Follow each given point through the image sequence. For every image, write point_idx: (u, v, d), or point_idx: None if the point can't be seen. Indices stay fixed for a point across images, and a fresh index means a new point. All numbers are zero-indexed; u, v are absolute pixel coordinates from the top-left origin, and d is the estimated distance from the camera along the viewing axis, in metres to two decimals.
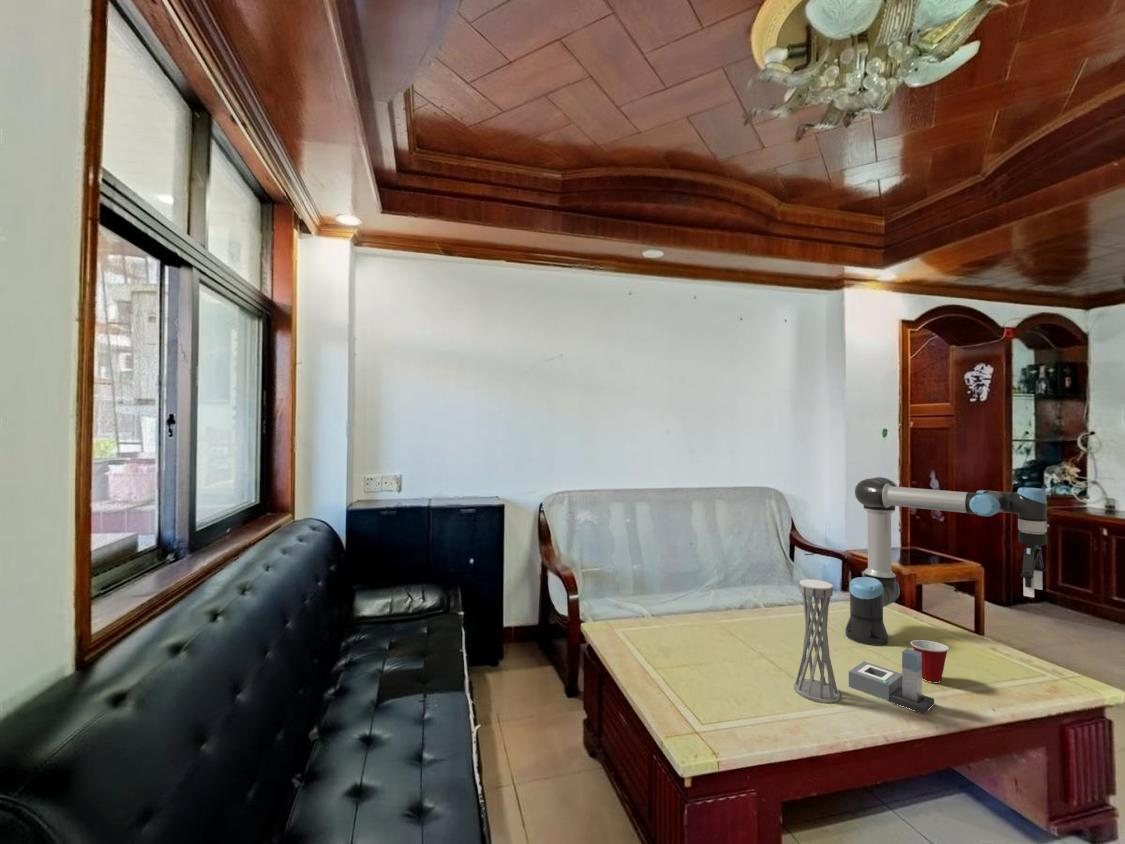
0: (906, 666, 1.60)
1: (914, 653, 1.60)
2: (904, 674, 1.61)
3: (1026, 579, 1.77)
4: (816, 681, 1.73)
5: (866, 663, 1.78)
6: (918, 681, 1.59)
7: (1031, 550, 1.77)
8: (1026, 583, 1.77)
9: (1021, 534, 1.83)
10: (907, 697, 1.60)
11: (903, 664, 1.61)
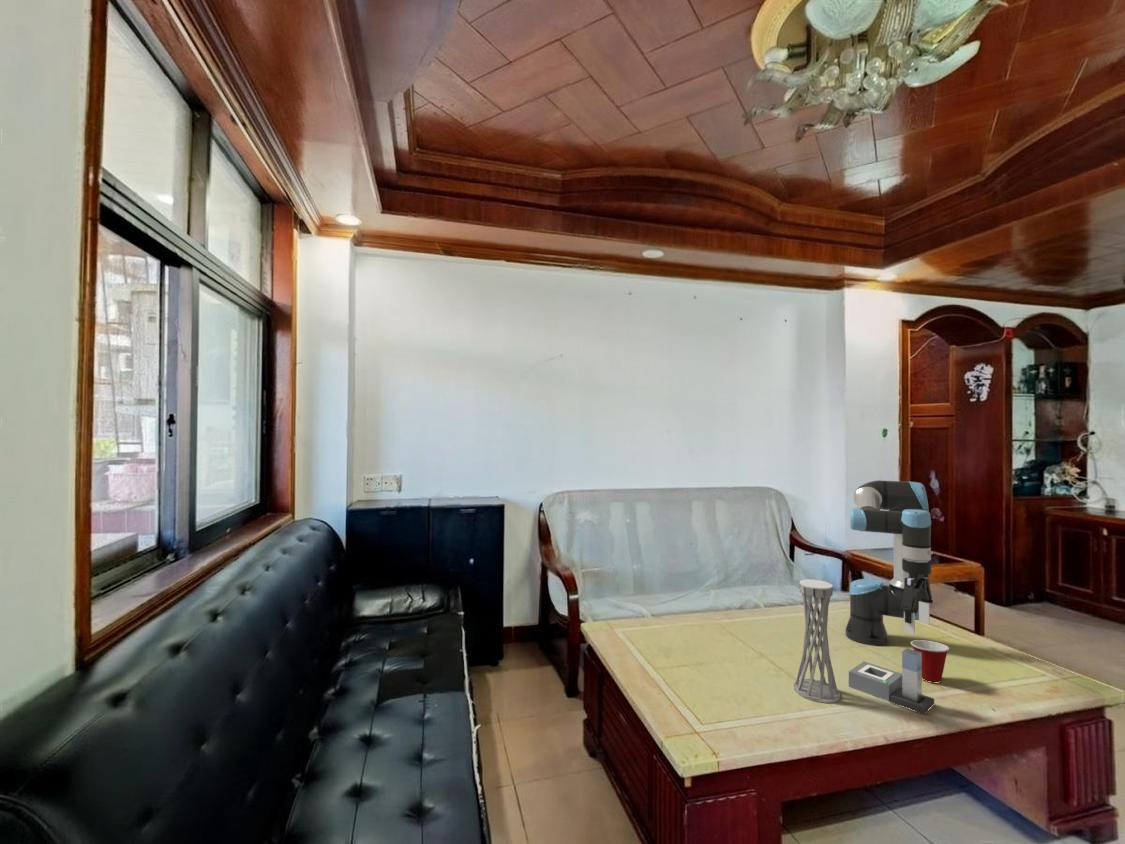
0: (906, 666, 1.60)
1: (914, 653, 1.60)
2: (904, 674, 1.61)
3: (906, 614, 1.57)
4: (816, 681, 1.73)
5: (866, 663, 1.78)
6: (918, 681, 1.59)
7: (912, 581, 1.57)
8: (906, 618, 1.57)
9: (904, 562, 1.62)
10: (907, 697, 1.60)
11: (903, 664, 1.61)
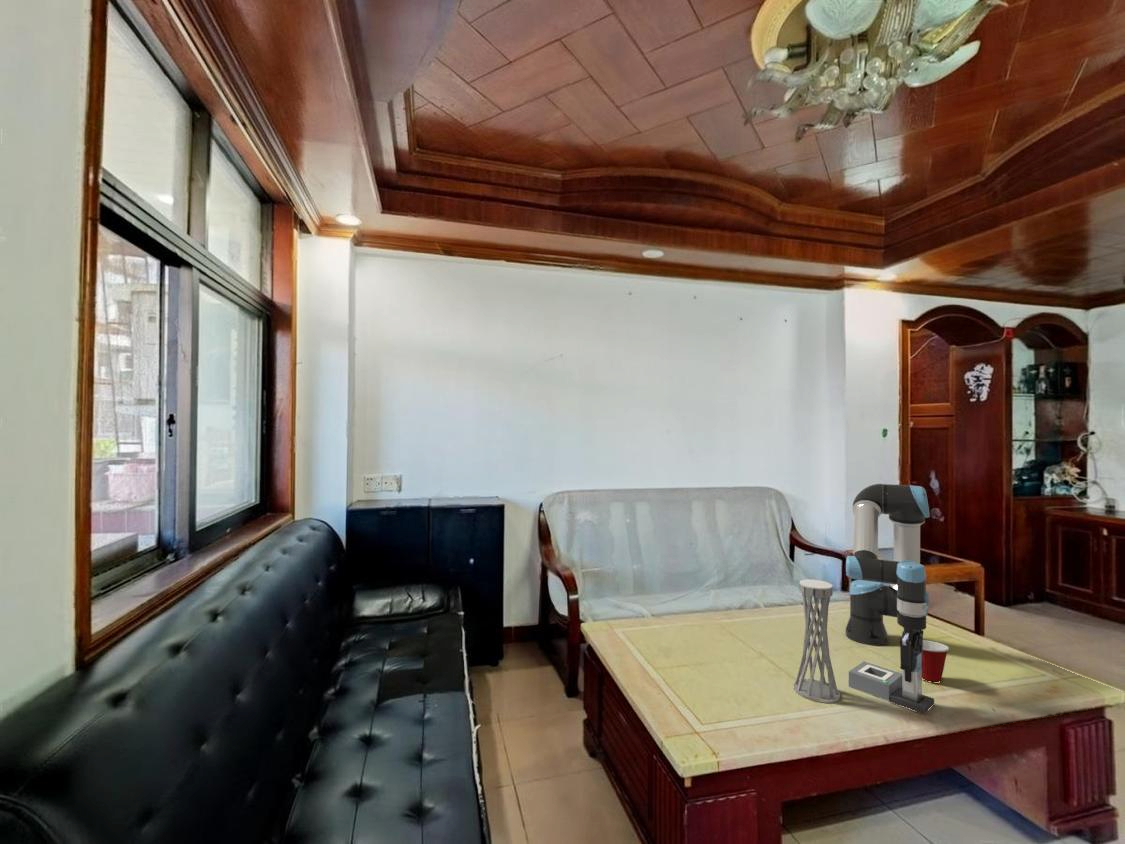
0: None
1: (914, 653, 1.60)
2: None
3: (906, 672, 1.59)
4: (816, 681, 1.73)
5: (866, 663, 1.78)
6: (918, 681, 1.59)
7: (906, 642, 1.56)
8: (906, 677, 1.59)
9: (899, 616, 1.62)
10: (907, 697, 1.60)
11: None
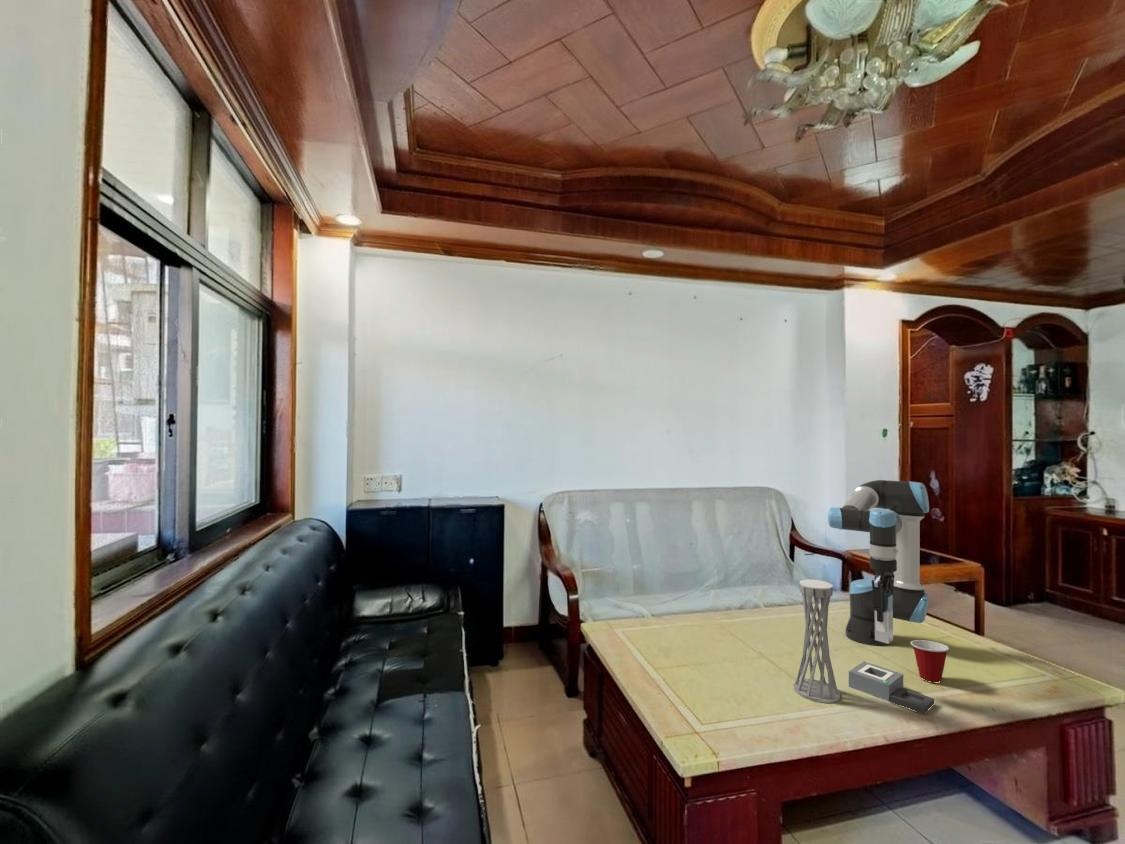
0: None
1: (886, 595, 1.68)
2: None
3: (878, 613, 1.67)
4: (816, 681, 1.73)
5: (866, 663, 1.78)
6: (889, 621, 1.67)
7: (878, 584, 1.64)
8: (878, 617, 1.67)
9: (871, 560, 1.69)
10: (879, 637, 1.68)
11: None
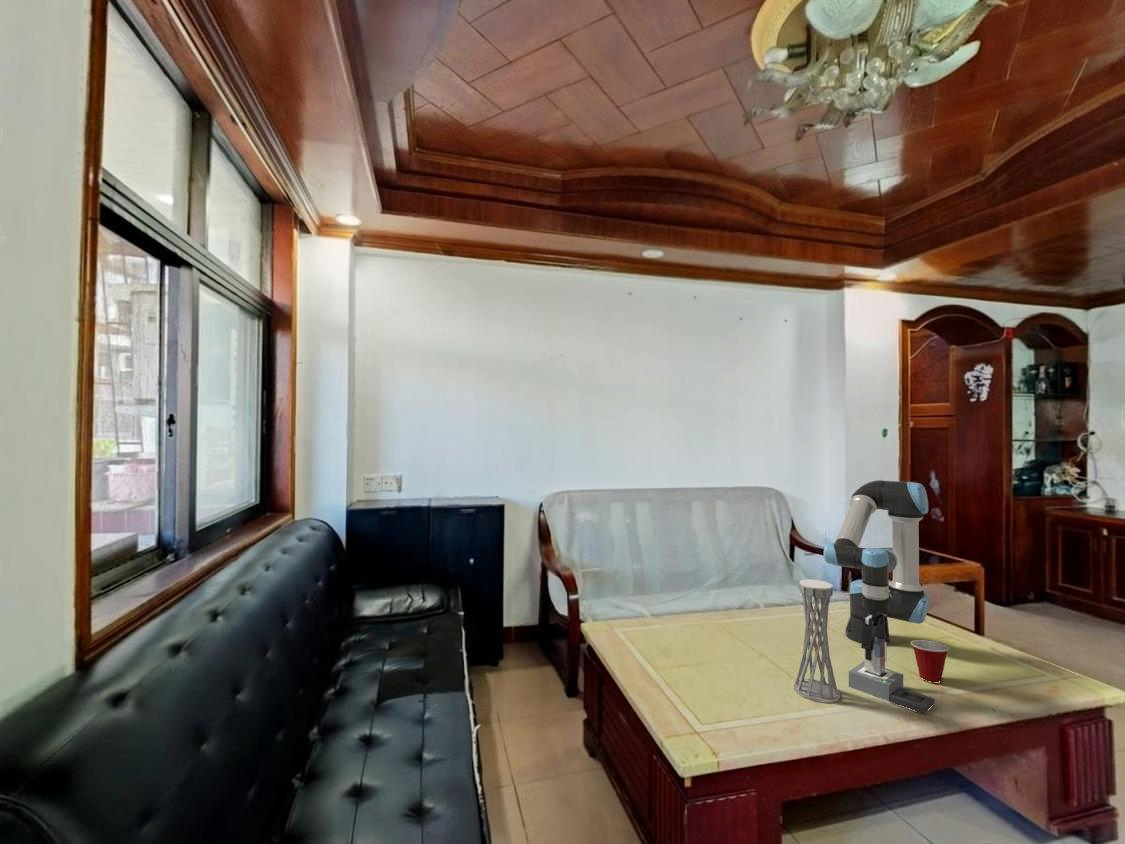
0: None
1: (878, 640, 1.70)
2: None
3: (866, 651, 1.67)
4: (816, 681, 1.73)
5: None
6: (881, 666, 1.69)
7: (869, 620, 1.66)
8: (866, 655, 1.67)
9: (863, 599, 1.71)
10: None
11: None
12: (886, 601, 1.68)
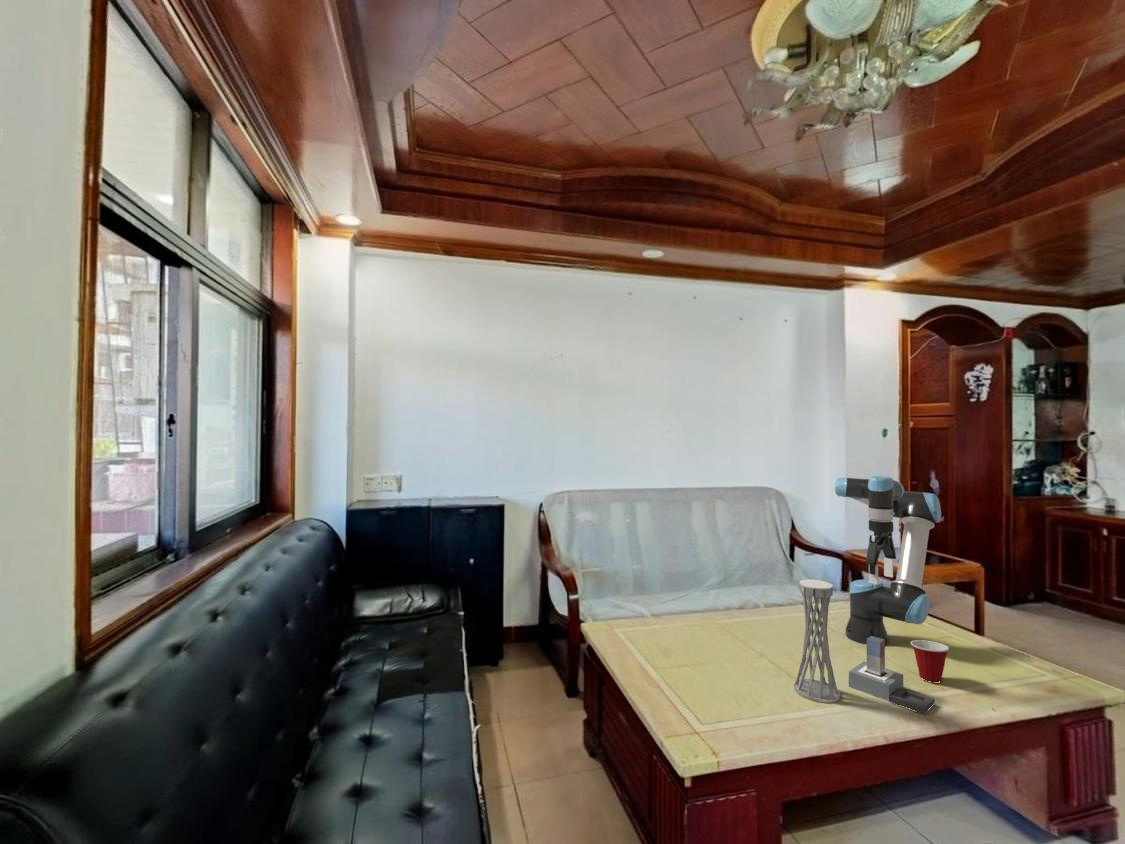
0: (870, 652, 1.70)
1: (877, 640, 1.70)
2: (868, 660, 1.71)
3: (870, 566, 1.79)
4: (816, 681, 1.73)
5: (866, 663, 1.78)
6: (881, 666, 1.69)
7: (875, 537, 1.80)
8: (870, 570, 1.79)
9: (870, 522, 1.85)
10: None
11: (867, 650, 1.71)
12: (891, 523, 1.81)
